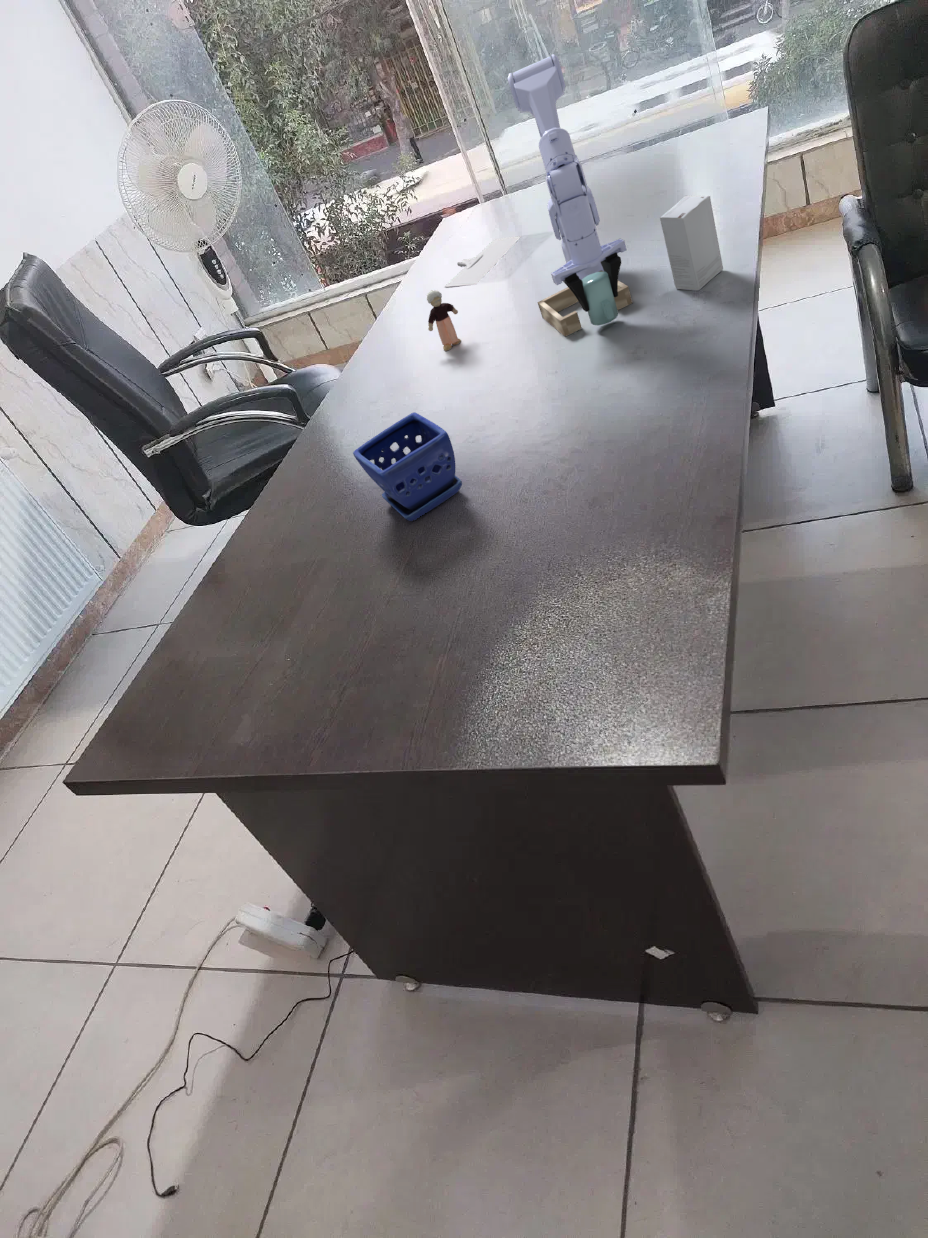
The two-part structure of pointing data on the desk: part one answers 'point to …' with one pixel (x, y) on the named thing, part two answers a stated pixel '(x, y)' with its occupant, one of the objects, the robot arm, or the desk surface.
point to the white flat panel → (482, 262)
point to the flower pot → (412, 465)
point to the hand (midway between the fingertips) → (600, 302)
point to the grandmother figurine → (442, 319)
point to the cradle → (571, 320)
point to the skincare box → (692, 242)
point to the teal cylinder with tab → (599, 298)
